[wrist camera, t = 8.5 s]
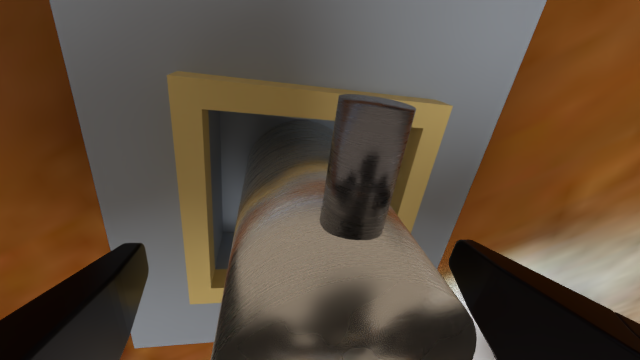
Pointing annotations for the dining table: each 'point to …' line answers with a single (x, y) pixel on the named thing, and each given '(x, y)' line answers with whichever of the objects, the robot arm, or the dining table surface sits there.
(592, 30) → the dining table surface
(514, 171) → the dining table surface
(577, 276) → the dining table surface
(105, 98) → the grey flat square piece
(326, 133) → the spout can
